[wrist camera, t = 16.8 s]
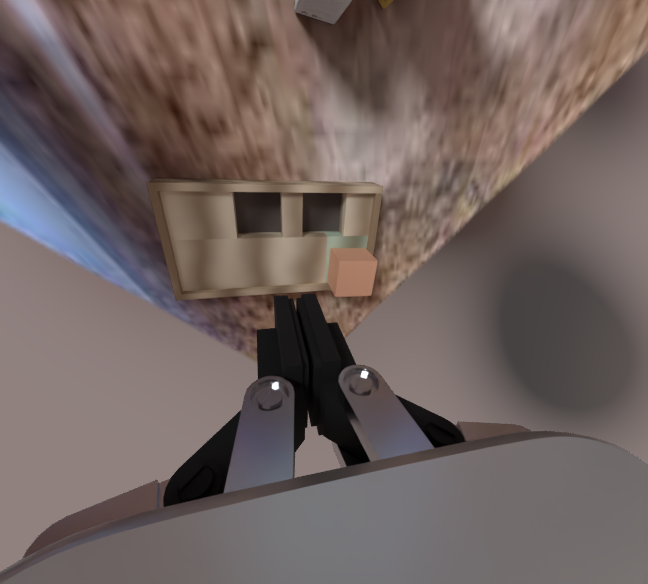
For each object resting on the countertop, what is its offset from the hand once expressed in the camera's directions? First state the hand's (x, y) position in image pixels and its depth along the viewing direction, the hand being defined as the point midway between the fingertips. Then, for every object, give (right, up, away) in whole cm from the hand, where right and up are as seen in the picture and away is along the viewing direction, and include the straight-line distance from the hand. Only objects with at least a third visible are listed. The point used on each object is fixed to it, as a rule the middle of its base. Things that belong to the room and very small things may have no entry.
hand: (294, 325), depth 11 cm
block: (+4, +5, +27) cm, 28 cm away
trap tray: (-5, +9, +26) cm, 28 cm away
